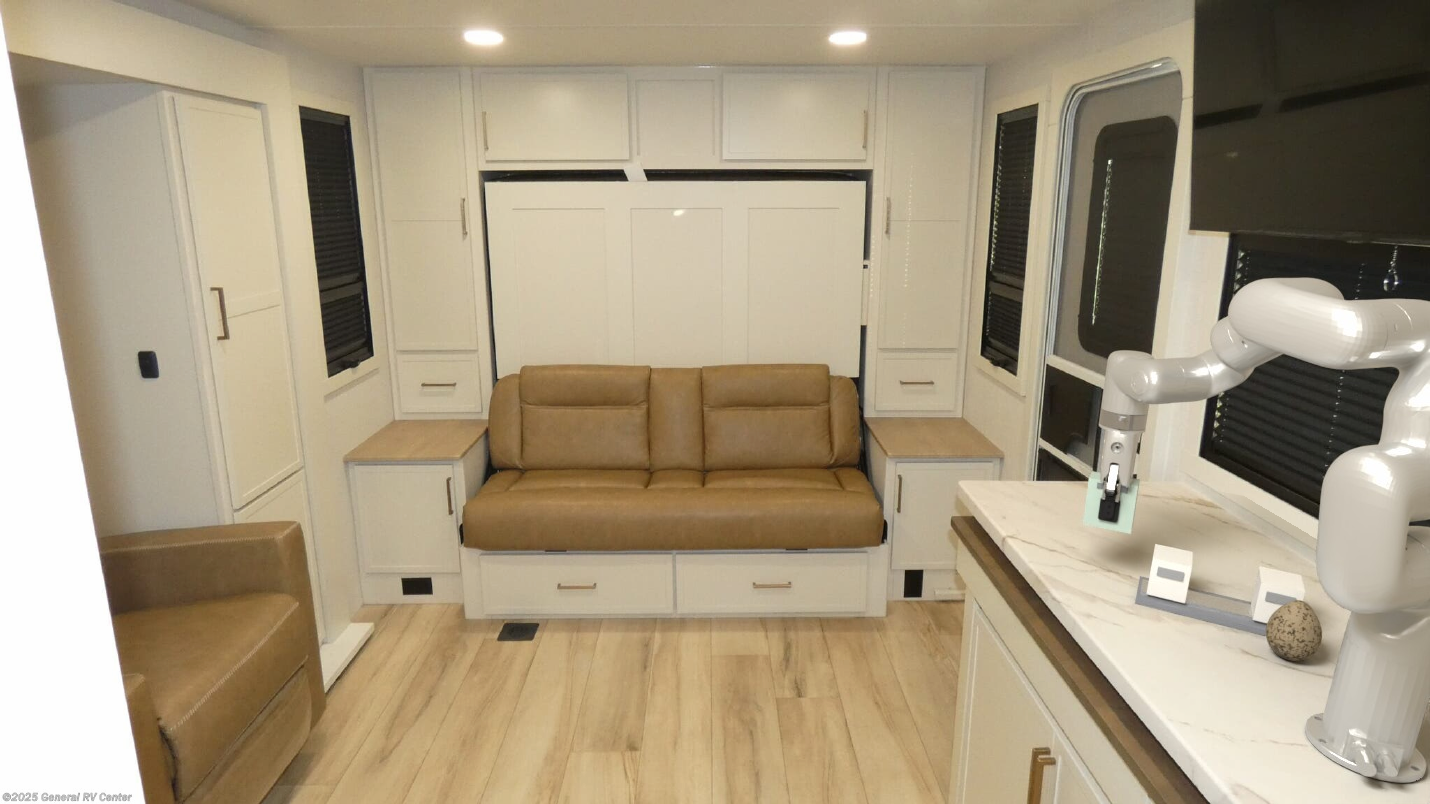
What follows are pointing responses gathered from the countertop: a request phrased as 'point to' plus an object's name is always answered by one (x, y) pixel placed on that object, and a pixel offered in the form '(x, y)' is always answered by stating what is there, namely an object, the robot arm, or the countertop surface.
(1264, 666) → the countertop surface
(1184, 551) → the board
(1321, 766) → the countertop surface
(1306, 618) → the decorative egg
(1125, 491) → the block
